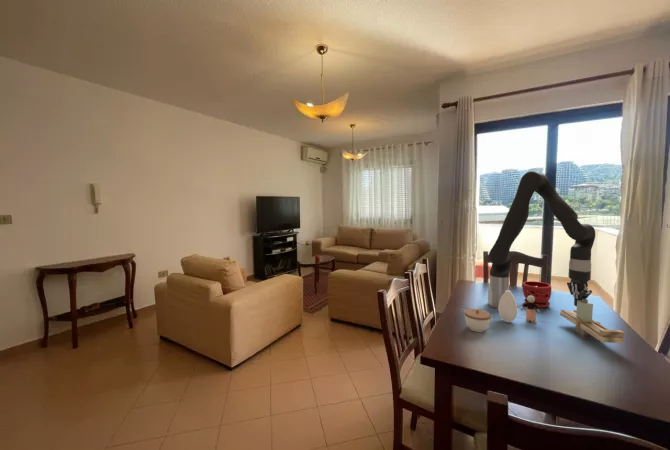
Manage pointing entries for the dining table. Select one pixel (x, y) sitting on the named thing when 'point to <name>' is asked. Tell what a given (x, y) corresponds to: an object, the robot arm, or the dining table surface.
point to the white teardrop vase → (507, 306)
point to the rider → (584, 310)
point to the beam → (593, 329)
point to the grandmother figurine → (530, 309)
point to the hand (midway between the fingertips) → (577, 306)
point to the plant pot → (537, 292)
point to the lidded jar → (477, 319)
